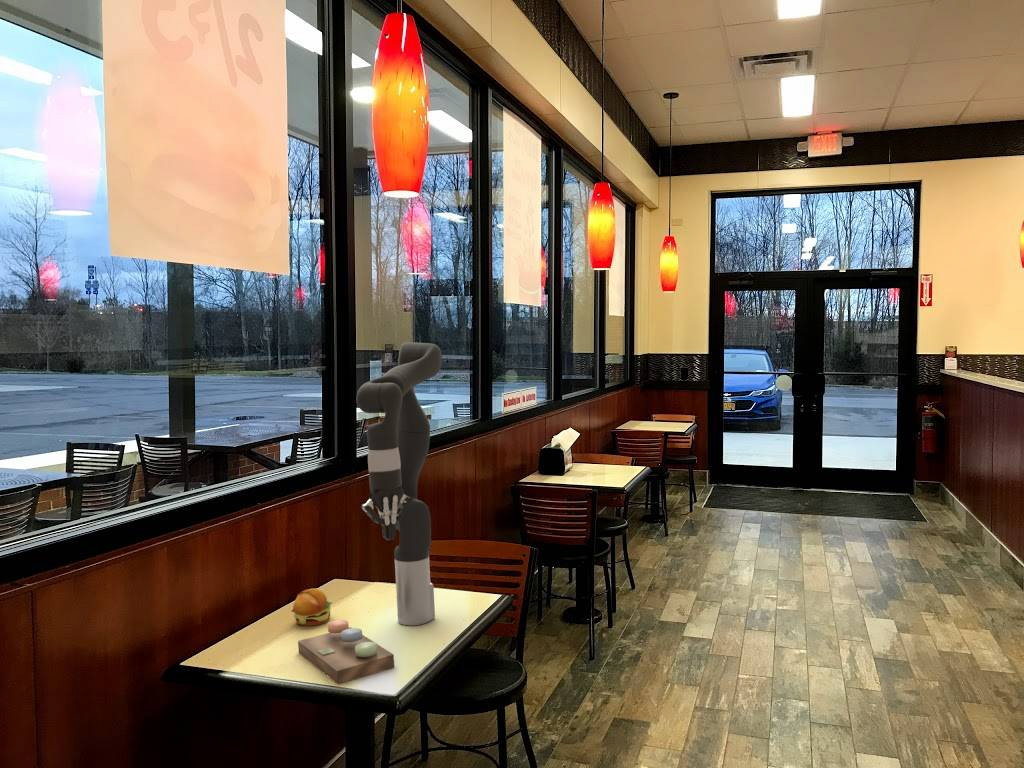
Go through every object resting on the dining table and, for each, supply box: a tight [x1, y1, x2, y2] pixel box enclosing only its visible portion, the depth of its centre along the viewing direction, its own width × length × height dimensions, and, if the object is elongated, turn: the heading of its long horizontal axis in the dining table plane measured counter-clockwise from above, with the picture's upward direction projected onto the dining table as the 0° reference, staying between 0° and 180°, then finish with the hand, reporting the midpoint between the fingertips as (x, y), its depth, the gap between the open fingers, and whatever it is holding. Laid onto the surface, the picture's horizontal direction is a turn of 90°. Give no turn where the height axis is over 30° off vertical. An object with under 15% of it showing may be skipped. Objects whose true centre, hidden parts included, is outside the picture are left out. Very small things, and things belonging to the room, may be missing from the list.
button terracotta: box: [327, 619, 350, 633], centre depth 201 cm, size 5×5×2 cm
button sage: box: [355, 641, 378, 657], centre depth 188 cm, size 5×5×2 cm
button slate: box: [341, 627, 363, 642], centre depth 194 cm, size 5×5×2 cm
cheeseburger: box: [290, 588, 333, 627], centre depth 221 cm, size 10×11×10 cm
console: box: [297, 626, 395, 685], centre depth 193 cm, size 14×24×3 cm, turn 35°
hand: (389, 539), depth 192 cm, fingers closed
